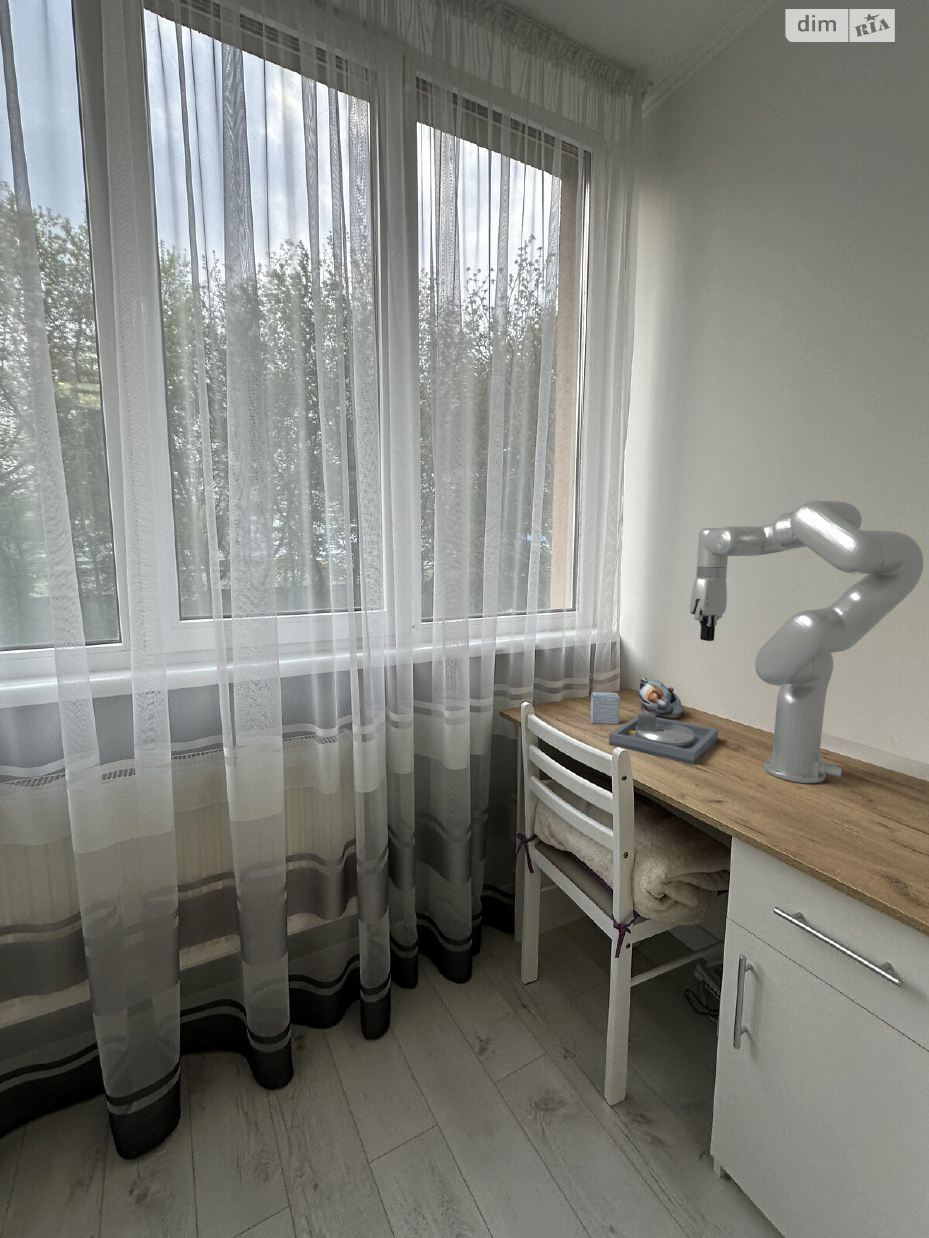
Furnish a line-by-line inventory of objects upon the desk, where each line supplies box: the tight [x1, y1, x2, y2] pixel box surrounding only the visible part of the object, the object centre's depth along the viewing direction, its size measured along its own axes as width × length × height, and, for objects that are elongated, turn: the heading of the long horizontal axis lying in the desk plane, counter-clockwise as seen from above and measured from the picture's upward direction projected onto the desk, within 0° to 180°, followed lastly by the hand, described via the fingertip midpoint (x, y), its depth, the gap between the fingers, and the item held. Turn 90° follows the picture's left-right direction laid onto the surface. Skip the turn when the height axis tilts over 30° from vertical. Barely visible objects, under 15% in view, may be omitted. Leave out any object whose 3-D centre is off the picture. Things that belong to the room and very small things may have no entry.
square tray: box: [608, 715, 719, 766], centre depth 153 cm, size 22×22×3 cm
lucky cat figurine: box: [638, 677, 687, 720], centre depth 176 cm, size 15×12×14 cm
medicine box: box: [590, 691, 621, 725], centre depth 169 cm, size 8×4×9 cm, turn 84°
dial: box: [635, 713, 694, 748], centre depth 152 cm, size 15×15×6 cm
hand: (707, 640), depth 156 cm, fingers closed
